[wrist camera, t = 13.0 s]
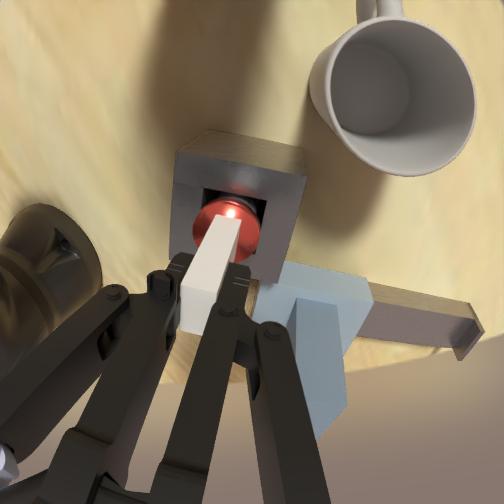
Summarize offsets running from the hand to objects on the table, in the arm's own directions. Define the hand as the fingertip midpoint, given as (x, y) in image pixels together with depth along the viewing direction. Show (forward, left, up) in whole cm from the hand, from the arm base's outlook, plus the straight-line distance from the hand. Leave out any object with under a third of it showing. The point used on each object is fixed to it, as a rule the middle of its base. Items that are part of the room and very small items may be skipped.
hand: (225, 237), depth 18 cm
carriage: (+8, -10, -9) cm, 15 cm away
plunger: (0, 0, -9) cm, 9 cm away
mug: (+7, +12, -10) cm, 17 cm away
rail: (+16, -10, -10) cm, 21 cm away
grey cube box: (0, 0, -10) cm, 10 cm away
